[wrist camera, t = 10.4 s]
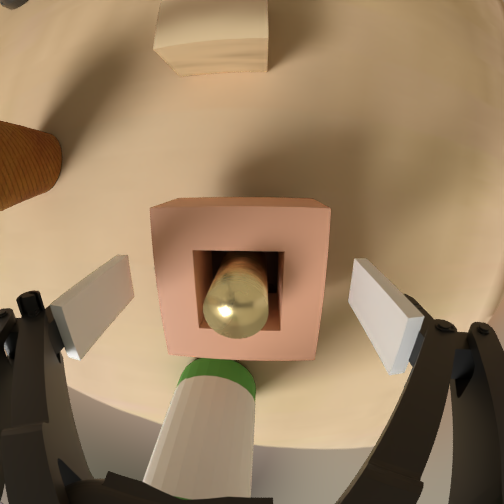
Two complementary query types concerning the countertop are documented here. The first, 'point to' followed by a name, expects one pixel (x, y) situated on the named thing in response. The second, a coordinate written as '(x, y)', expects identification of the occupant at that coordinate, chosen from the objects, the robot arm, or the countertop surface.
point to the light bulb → (240, 291)
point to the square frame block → (241, 239)
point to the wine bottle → (207, 434)
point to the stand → (213, 36)
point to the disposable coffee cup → (26, 163)
